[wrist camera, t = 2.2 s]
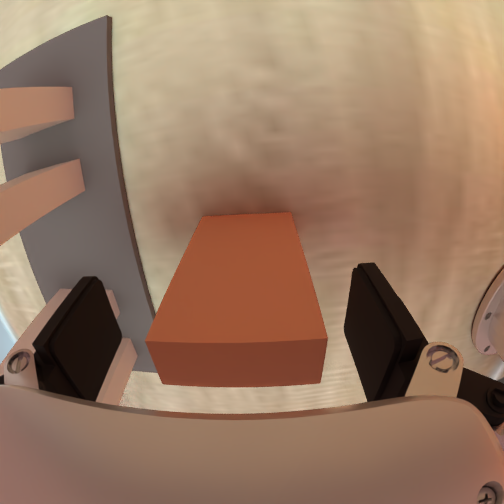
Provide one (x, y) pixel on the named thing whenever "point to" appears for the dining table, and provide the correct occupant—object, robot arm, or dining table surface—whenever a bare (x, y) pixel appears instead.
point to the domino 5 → (240, 308)
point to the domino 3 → (43, 318)
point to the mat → (94, 176)
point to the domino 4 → (118, 374)
